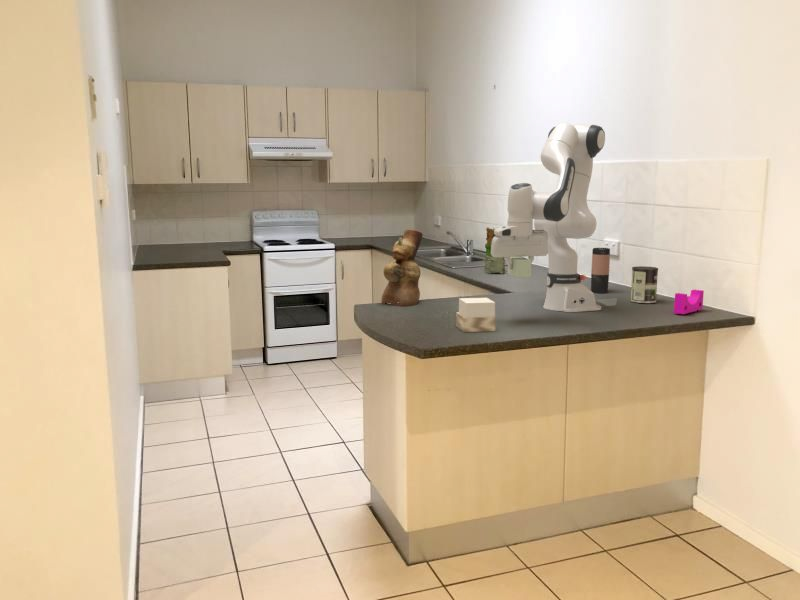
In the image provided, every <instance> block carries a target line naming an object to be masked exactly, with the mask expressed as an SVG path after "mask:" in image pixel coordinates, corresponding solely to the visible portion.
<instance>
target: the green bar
mask: <svg viewBox="0 0 800 600" xmlns="http://www.w3.org/2000/svg"><path fill="white" fill-rule="evenodd" d="M509 262H510V264H512V265H513V270H508V269H507V274H508V275H510V276H512V277H514V278H516V279H520V278H522V279H523V278H524V279H525V278H531V277H532V263H531V260H530V259H528V258H527V257H510V260H509Z"/></svg>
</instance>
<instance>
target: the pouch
mask: <svg viewBox="0 0 800 600" xmlns="http://www.w3.org/2000/svg"><path fill="white" fill-rule="evenodd" d="M495 229H496V228H494V227H493V228H490V227H486V228H485V230H486V238H485V240H486V241H487V242H486V243H485V244H484V248H485V257H484V258H485V259H484V264H485V265H484V273H485V274H487V275H490V274H497V275H498V274H499V275H504V274H505V273H506V268H505V267H506V264H505V262H506V261H505V257H493V256H492V255H491V244H492V239H493V238H494V237H495V236H496V235H495V234H494V230H495Z"/></svg>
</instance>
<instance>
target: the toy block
mask: <svg viewBox="0 0 800 600" xmlns="http://www.w3.org/2000/svg"><path fill="white" fill-rule="evenodd" d="M704 293H705V291H704V290H701V289H700V290H699V289H691V290H690V295H688V294H687V293H683V292H682V293H680V292H676V293H674V304H673V313H674V314H679V315H686V314H689V313H694V312H698V311H701V310H700V309H702V310H703V307H704V306H703V305H704ZM697 310H698V311H697Z"/></svg>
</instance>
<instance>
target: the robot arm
mask: <svg viewBox="0 0 800 600" xmlns="http://www.w3.org/2000/svg"><path fill="white" fill-rule="evenodd" d="M605 141H606V133H605V130H604V129H603V126H599V125H597V124H591V125H590V124H579V123H576V124H571V123H568V122H561V123H559V124H557V125H556V126H554V127H552V128H551V129H550V130H549V132H548V135H547V139H546V141H545V143H544V146H543V147H542V149H541V152H540V160H541V163H542V165H543V167H544V168H545V169H546V170H547V171H548V172H550V173H552V174H555V175H558V180H557V185H556V188H555V190H553V191H551V192H536V191H535V190H533V187H532V184H530V183H528V182H522V183H521V182H520V183H515V184H513V185H511V186H510V187H509V191H508V196H507V214H508V218H507V224H506V225H504V226H503V225H502V226H501V227H497V228H494V229H495V230H494V234H495V235H496V236H495V237H494V238H493V239H492V244H491V255H492V256H493V257H504V262H506V264H507V271H508V270H513V265H512V264H510V262H509V260H510V257H524V258H526V257H528V258H527V259H530V260H531V264H532V263H533V262H534V260H535V257H545V256H547V257H548V270H547V271H548V272H547V275H546V287H547V288H546V293H545V300H544V303H543V306H542V308H544V309H545V310H551V311H554V312H555V311H557V312H559V311H560V312H565V313H579V312H581V313H582V312H592V311H601V310H602V306H601V305H600V304H597V302H596V295H595V293H593V292H592V291H591V289H589V287H587V286H586V285H585V284H583V283H582V281H585V280H586V279H587V276H586V275H584V274H579V273H578V259H579V257H578V252H577V251H576V250H575V249H573V247H571V246H570V245H569V243H568V241H567V239H574V240H579V239H580V240H581V239H586V238H590V237H592V236H593V234H594V233H595V231H596V230H597V219H596V217H595V215H594V214H593V213H592V211H591V210H590V209H589V206H588V201H587V200H588V199H587V197H588V192H589V187H590V184H591V178H592V174H593V168H594V167H593V166H594V158H595V157H596V156H597V155H598V154H599V153H600V152H601V150H602V149H603V148H604V146H605ZM533 225H534V226H533ZM533 227H534V228H533Z"/></svg>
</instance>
